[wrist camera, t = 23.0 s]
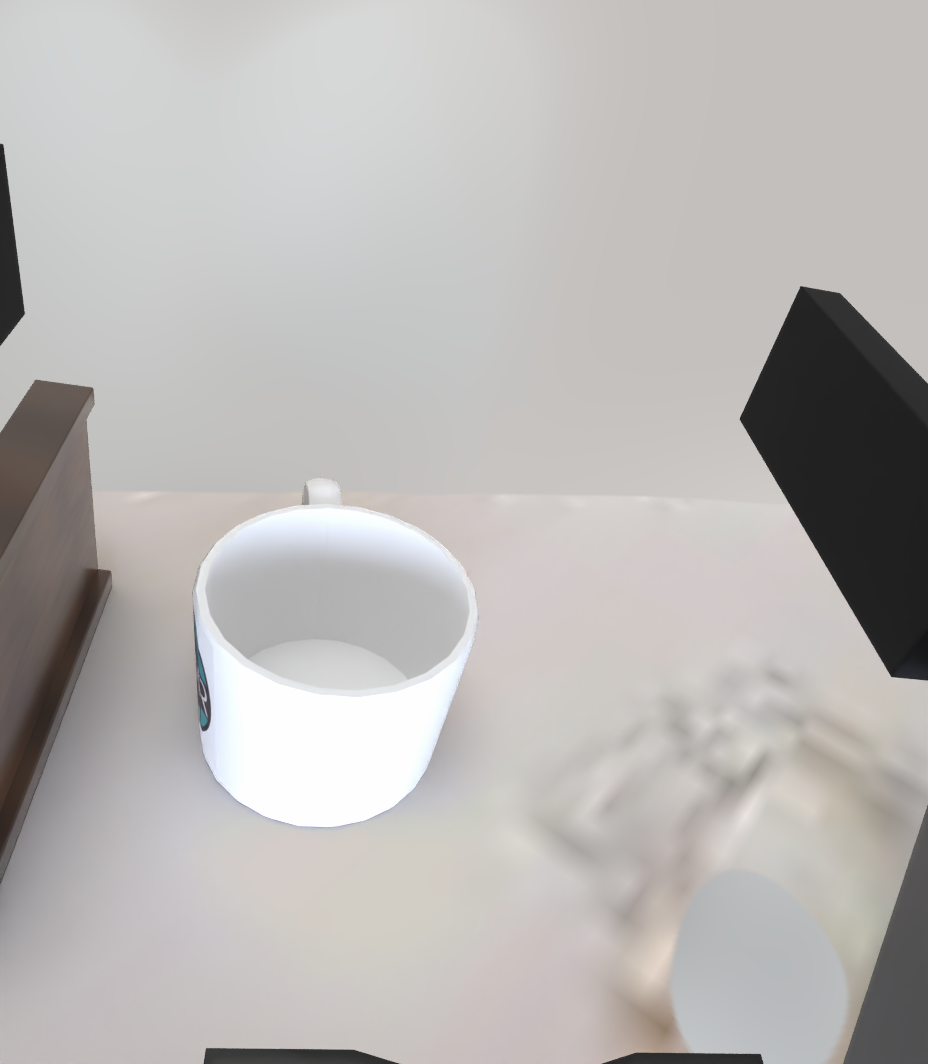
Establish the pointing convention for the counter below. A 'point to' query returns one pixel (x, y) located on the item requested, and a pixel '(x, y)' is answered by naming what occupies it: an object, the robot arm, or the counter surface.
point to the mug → (327, 657)
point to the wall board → (43, 584)
